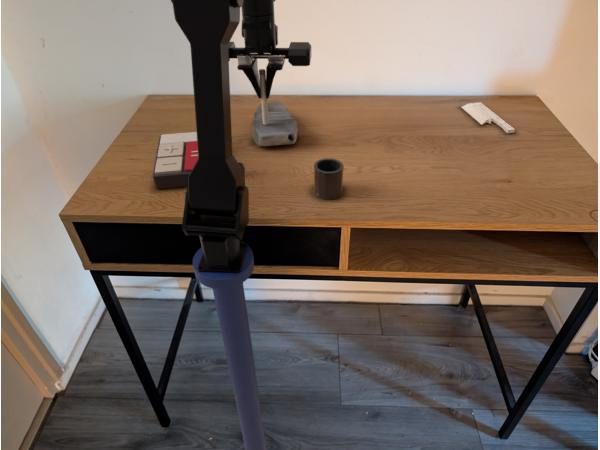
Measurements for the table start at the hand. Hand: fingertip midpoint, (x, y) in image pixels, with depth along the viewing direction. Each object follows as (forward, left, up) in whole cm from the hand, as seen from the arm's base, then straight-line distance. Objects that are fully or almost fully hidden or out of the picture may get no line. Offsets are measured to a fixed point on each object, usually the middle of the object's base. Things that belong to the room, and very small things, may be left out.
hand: (264, 97), depth 86 cm
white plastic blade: (+14, -49, -10) cm, 52 cm away
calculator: (-10, +15, -11) cm, 21 cm away
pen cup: (-17, -13, -10) cm, 24 cm away
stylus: (0, 0, -6) cm, 6 cm away
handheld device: (+7, 0, -11) cm, 13 cm away
